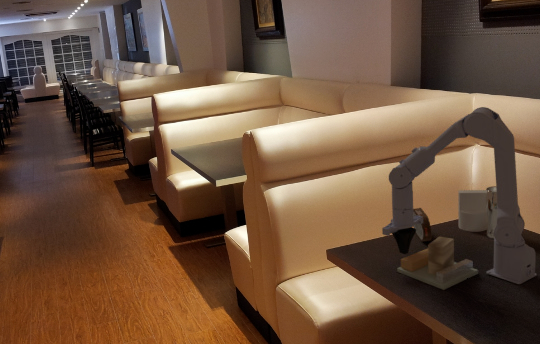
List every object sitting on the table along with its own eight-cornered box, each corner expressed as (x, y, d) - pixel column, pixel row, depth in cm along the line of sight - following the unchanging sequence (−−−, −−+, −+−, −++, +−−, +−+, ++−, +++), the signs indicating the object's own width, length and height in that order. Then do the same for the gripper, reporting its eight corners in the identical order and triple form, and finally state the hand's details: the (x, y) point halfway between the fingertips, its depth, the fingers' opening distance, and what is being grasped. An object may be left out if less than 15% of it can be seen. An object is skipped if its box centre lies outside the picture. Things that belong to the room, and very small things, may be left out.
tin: (432, 245, 167) (432, 218, 165) (422, 245, 167) (421, 219, 165) (420, 228, 182) (420, 204, 180) (410, 229, 182) (410, 204, 180)
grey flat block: (478, 273, 146) (478, 261, 145) (443, 289, 138) (443, 276, 137) (431, 257, 158) (431, 245, 157) (397, 271, 151) (396, 259, 150)
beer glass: (480, 234, 173) (480, 188, 169) (498, 230, 174) (499, 184, 171) (495, 241, 166) (496, 193, 163) (514, 237, 168) (515, 189, 164)
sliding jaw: (441, 259, 154) (441, 251, 153) (412, 271, 147) (412, 263, 147) (430, 255, 157) (430, 247, 156) (400, 267, 151) (400, 259, 150)
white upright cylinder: (459, 231, 176) (459, 195, 174) (457, 222, 185) (457, 187, 182) (489, 231, 174) (490, 195, 171) (486, 222, 183) (486, 187, 180)
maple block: (453, 266, 148) (453, 238, 147) (443, 276, 143) (442, 247, 141) (439, 263, 151) (439, 236, 149) (428, 273, 146) (428, 244, 144)
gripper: (409, 198, 161) (410, 242, 164) (373, 210, 153) (375, 255, 156) (428, 203, 155) (429, 248, 158) (392, 215, 148) (394, 262, 151)
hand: (403, 252), depth 157 cm, fingers closed
